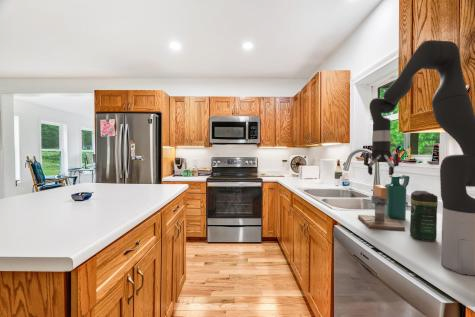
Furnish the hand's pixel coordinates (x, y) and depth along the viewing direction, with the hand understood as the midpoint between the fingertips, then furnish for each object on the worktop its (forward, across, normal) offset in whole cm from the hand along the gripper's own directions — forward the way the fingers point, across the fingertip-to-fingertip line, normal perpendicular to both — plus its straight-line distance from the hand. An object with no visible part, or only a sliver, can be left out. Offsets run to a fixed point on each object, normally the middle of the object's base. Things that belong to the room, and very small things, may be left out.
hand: (380, 174), depth 115 cm
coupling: (+13, 0, 0) cm, 13 cm away
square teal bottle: (+24, +13, +15) cm, 31 cm away
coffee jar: (+23, +10, -17) cm, 31 cm away
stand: (+23, 0, 0) cm, 23 cm away
